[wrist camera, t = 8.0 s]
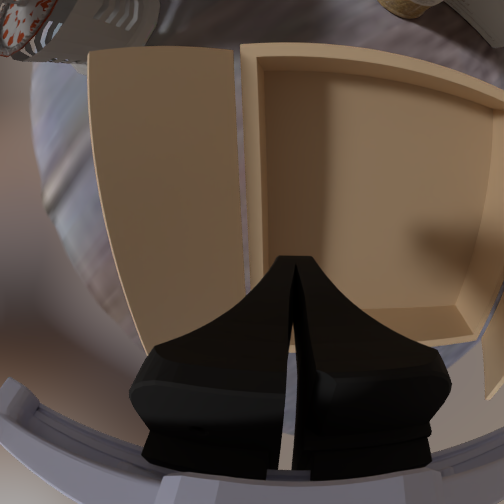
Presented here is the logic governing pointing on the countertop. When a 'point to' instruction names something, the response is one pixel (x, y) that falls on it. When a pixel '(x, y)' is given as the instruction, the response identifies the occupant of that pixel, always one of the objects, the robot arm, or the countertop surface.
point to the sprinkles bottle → (408, 7)
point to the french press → (74, 28)
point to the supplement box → (483, 18)
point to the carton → (378, 181)
